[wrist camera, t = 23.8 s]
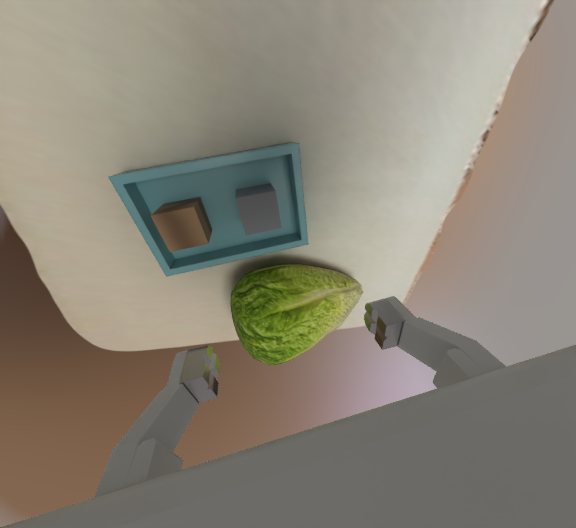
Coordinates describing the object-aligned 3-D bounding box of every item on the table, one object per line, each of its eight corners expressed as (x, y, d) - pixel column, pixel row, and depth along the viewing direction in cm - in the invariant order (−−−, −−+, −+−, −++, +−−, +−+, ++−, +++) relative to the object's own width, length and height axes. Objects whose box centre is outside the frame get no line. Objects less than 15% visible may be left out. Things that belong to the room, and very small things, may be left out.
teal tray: (291, 142, 28) (298, 143, 25) (302, 234, 36) (308, 244, 33) (124, 171, 26) (108, 176, 23) (173, 262, 34) (166, 276, 31)
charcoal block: (270, 183, 30) (275, 190, 25) (276, 216, 32) (281, 227, 28) (235, 189, 29) (235, 198, 25) (244, 222, 32) (245, 235, 28)
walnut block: (200, 196, 29) (193, 206, 24) (212, 229, 31) (208, 243, 27) (163, 203, 28) (150, 215, 24) (179, 236, 31) (169, 252, 27)
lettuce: (335, 235, 43) (319, 289, 53) (218, 264, 32) (225, 325, 41) (395, 279, 34) (362, 334, 44) (260, 342, 22) (256, 398, 32)
